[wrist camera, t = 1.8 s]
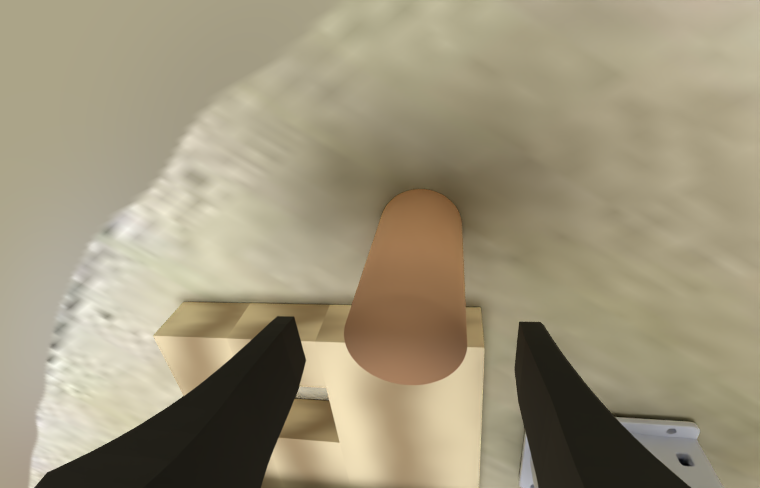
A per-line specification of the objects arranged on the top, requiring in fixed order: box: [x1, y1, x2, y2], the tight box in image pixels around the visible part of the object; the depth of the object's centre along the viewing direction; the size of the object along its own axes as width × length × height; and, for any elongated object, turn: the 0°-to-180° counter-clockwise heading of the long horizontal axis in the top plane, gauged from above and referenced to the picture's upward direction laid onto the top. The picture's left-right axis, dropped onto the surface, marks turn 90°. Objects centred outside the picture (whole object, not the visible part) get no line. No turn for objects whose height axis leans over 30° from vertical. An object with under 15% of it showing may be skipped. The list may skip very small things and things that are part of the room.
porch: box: [153, 302, 485, 488], centre depth 25 cm, size 18×18×7 cm
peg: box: [344, 189, 467, 385], centre depth 16 cm, size 4×4×8 cm
